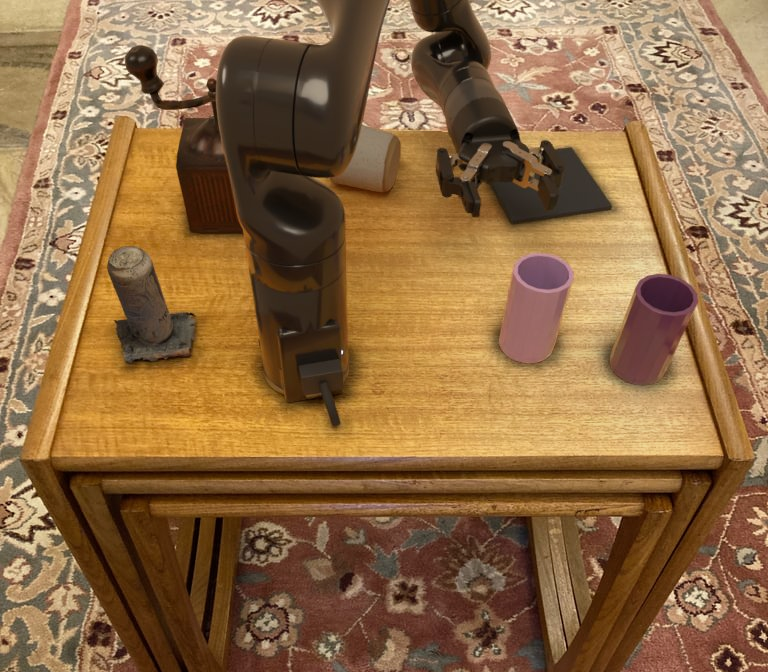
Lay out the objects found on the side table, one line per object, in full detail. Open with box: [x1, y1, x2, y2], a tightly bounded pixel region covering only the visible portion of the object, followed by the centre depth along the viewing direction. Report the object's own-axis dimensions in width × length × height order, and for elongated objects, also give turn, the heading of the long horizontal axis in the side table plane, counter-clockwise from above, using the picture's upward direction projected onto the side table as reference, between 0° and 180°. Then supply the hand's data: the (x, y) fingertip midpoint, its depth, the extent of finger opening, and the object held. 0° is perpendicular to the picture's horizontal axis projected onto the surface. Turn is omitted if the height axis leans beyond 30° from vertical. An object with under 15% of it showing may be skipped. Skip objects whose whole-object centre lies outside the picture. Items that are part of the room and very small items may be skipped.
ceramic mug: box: [329, 124, 402, 193], centre depth 100 cm, size 11×8×8 cm
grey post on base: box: [106, 245, 197, 365], centre depth 80 cm, size 9×8×12 cm
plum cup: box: [608, 273, 699, 386], centre depth 81 cm, size 6×6×10 cm
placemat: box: [489, 146, 613, 225], centre depth 103 cm, size 14×14×1 cm
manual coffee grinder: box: [124, 44, 244, 235], centre depth 91 cm, size 16×11×18 cm
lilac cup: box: [498, 252, 575, 364], centre depth 82 cm, size 6×6×10 cm
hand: (514, 207), depth 84 cm, fingers open, 8 cm apart
